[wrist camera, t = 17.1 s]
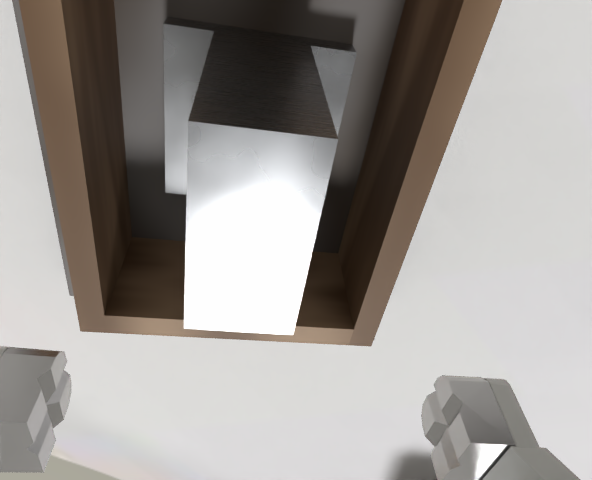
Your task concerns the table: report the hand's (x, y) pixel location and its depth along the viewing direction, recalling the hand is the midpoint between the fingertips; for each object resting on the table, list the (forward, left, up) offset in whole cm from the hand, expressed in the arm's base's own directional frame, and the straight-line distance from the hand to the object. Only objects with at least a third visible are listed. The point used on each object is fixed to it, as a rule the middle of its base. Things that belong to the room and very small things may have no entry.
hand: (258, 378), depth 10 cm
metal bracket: (0, +1, -15) cm, 15 cm away
